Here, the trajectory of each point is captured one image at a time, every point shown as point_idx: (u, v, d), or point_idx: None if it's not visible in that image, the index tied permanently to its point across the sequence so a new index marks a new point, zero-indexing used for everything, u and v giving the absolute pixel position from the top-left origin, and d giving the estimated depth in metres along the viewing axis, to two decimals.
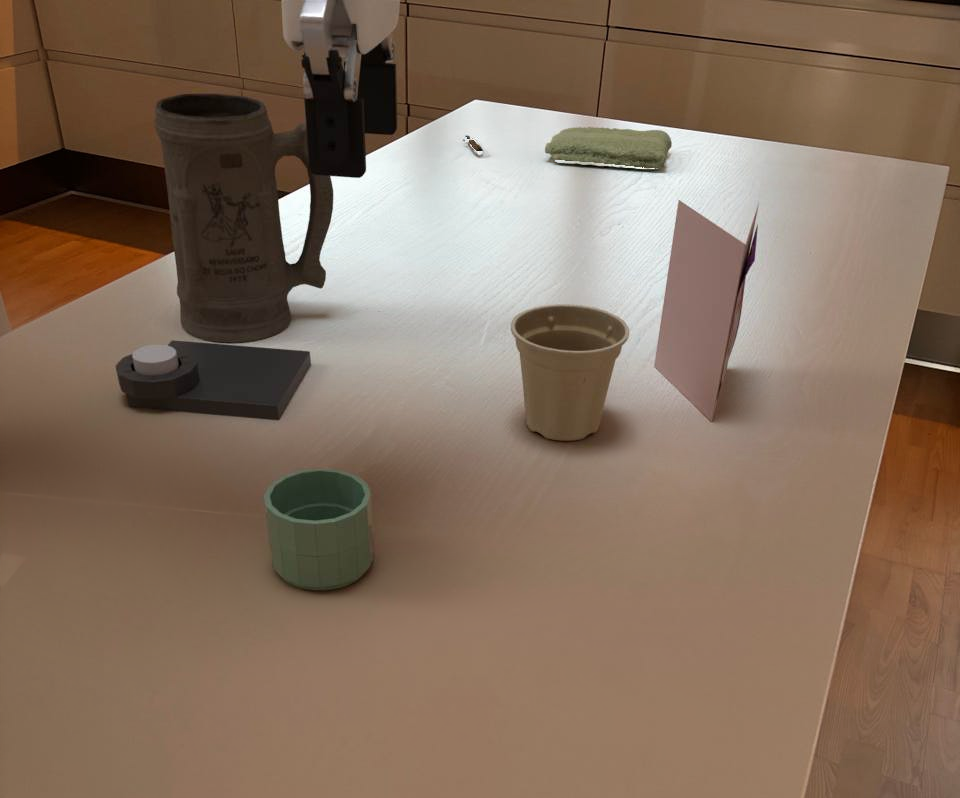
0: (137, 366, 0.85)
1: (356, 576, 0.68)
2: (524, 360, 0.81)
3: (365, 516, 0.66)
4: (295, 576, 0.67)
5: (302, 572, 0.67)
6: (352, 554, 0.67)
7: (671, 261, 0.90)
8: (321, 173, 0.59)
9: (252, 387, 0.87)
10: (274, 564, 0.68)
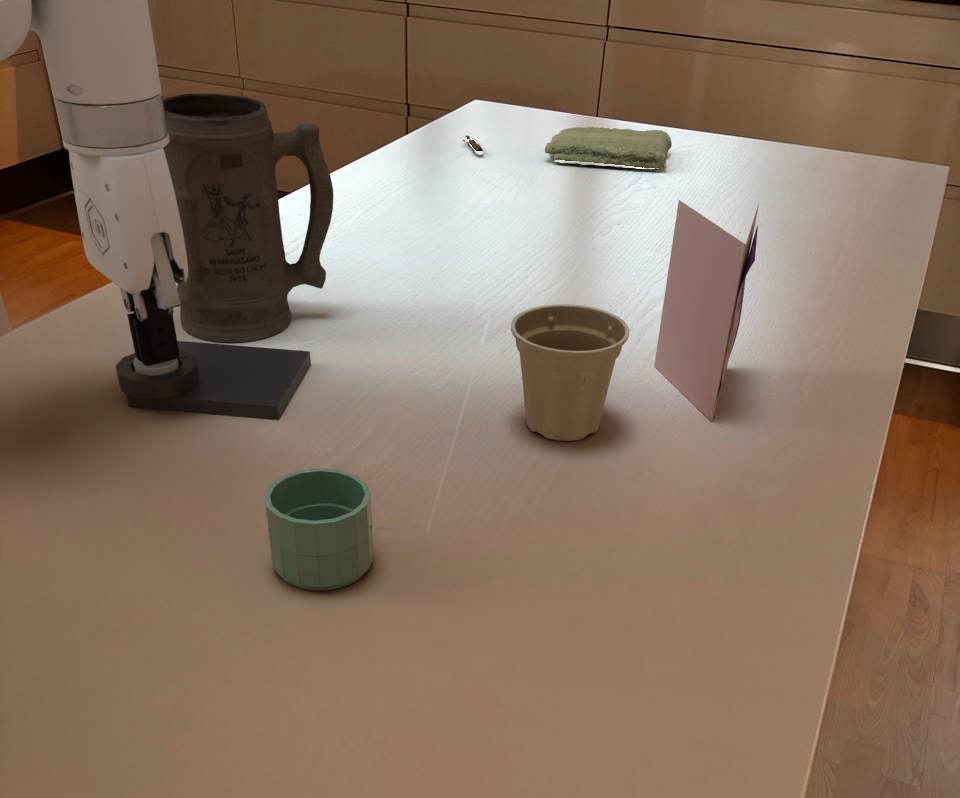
0: (138, 372, 0.86)
1: (356, 576, 0.68)
2: (524, 360, 0.81)
3: (365, 516, 0.66)
4: (295, 576, 0.67)
5: (302, 572, 0.67)
6: (352, 554, 0.67)
7: (671, 261, 0.90)
8: (152, 363, 0.85)
9: (252, 387, 0.87)
10: (274, 564, 0.68)
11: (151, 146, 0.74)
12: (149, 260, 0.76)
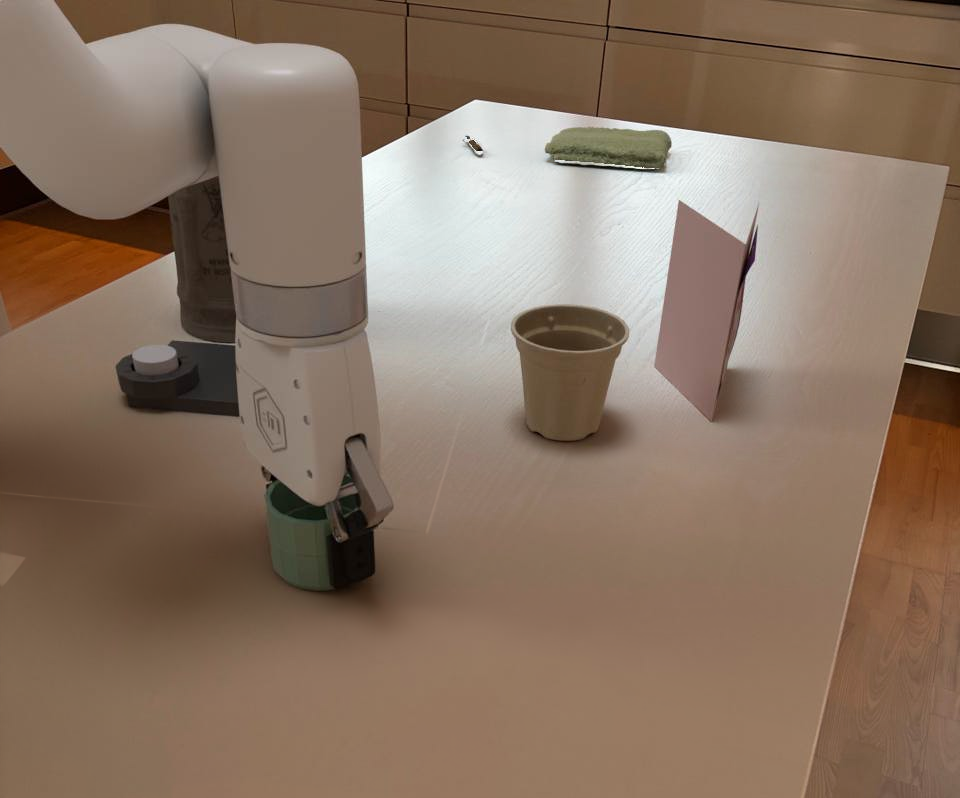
0: (137, 366, 0.85)
1: None
2: (524, 360, 0.81)
3: None
4: (295, 576, 0.67)
5: (302, 572, 0.67)
6: None
7: (671, 261, 0.90)
8: (343, 586, 0.67)
9: None
10: (274, 564, 0.68)
11: (352, 331, 0.57)
12: (340, 468, 0.60)
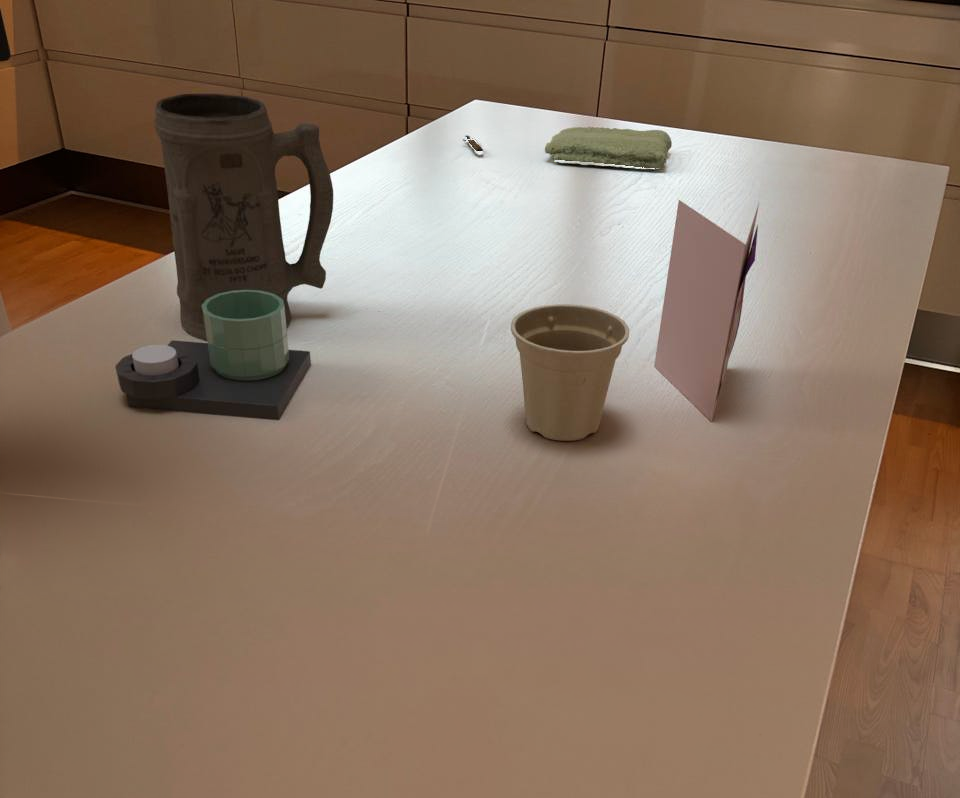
0: (137, 366, 0.85)
1: (274, 370, 0.88)
2: (524, 360, 0.81)
3: (279, 320, 0.87)
4: (226, 368, 0.87)
5: (231, 363, 0.87)
6: (269, 350, 0.87)
7: (671, 261, 0.90)
8: None
9: (252, 387, 0.87)
10: (211, 361, 0.89)
11: None
12: None
